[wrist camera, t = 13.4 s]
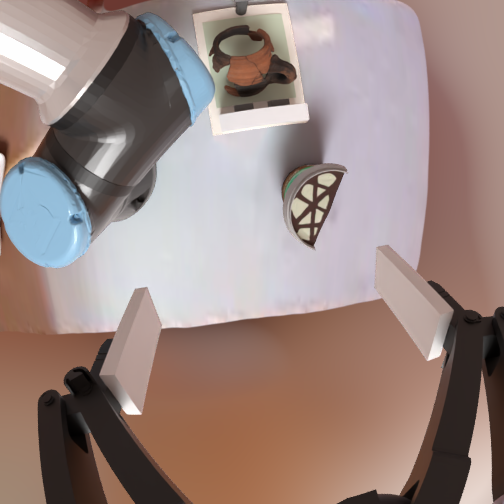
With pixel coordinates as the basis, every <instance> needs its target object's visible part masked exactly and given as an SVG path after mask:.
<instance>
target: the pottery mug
mask: <svg viewBox="0 0 504 504" xmlns="http://www.w3.org/2000/svg"><path fill="white" fill-rule="evenodd" d="M249 28H250V27H249V26H248V25H239V26H233V27H230V28H228V29H225V30H224V31H222V32H220V33H219V34H218V35H217V36H216V37H215V39H214V41H213V46H212V48H211V50H210V53H209V56H212V55H213V54H214V55H213V57H212V63H213V66H212V68H213V69H214V71H215V72H216V73H219V71H220V69H221V68H223V67H225V66H228V65H230V67H229V71H228V74H227V78H228V80H229V81H230V82H232V83H234V86H235V88H233V87H230V86H227V85H225V87H224V88H225V90H226V91H227V93H228V94H230V95H233V96H237V97H250V96H254V95H256V94H259V93H260V92H261V91H263V90H264V89H265V88H266V87H267V86H268V85H269V84H272V83H278V84H290V83H291V82H293V81H294V80H296V78H297V74H296V69H295V67H294V66H293V65H292V64H291V63H289V62H287V61H284V60H282V59H280V58H279V57H278V55H276V54H274V55H272V53H271V52H274V47H273V45H272V43H271V40H270V36H269V35H268V34H267V33H266V32H265V31H264V30H262V29H260V28H259V29H258V30H257V32H256V31H251V30H249ZM234 35H248V36H249V37H250V38H251V40H253V41H262V39H263V40H264V46H263V47H262V48H261V49H260V50H259V51H257V52H255V53H253V54H250V55H247V56H230V55H228V54H225V53H224V52H222V51H221V50H220V48H219V45H220V43H221V41H222V40H224V39H226V38H229V37H231V36H234ZM266 73H267V74H266ZM262 74H266V76H265V78H264V77H263V75H262Z"/></svg>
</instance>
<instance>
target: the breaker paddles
mask: <svg viewBox="0 0 504 504" xmlns="http://www.w3.org/2000/svg"><path fill="white" fill-rule="evenodd" d="M267 103H268V107H275V106H284V105H289V104H290V102H289V98H288V99H279V100H270V101H268V102H267ZM233 107H234V112H239V111H245V110H252V109H254V106H253V103H247V104H241V105H234V106H233Z"/></svg>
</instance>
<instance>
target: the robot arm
mask: <svg viewBox="0 0 504 504" xmlns="http://www.w3.org/2000/svg"><path fill="white" fill-rule="evenodd" d="M0 83H1V84H3V85H6V86H8V87H10V88H12V89H14V90H17V91H19V92H21V93H23V94H25V95H27V96H30V97H32V98H34V99H35V100H36V102H37V105H38V109H39V113H40V117H41V121H42V122H43V123H44V124H46V125H48V126H51V127H50V129H49V130H48V132H47V134H46V135H45V137H44V139H43V140H42V142H41V144H40V145H39V147H38V149H37V151H36V152H35V154H34V155H33V156H32V157H28V158H25V159H23V160H20V161H19V162H18V164H16V165H15V166H14V167H12V168H11V169H10V171H9V172H8V173H7V175H6V176H5V178H4V181H3V183H2V187H1V191H0V212H1V217H2V219H3V221H4V224H5V229H6V232H7V234H8V236H9V238H10V239H11V241H12V242H13V244H14V245H15V246H16V248H17V249H18V250H19V251H20V252H21V253H22V254H23V255H24V256H25V257H26V258H28V259H29V260H31V261H32V262H34V263H36V264H38V265H40V266H44V267H53V268H61V267H64V266H67V265H69V264H71V263H72V262H73V261H75V260H76V259H77V258H79V257H81V256H82V255H84V254H85V252H86V251H87V250H88V248H89V246H90V244H91V243H92V242H93V241H94V240H95V239H96V238H97V237H98V236H99V234H100V233H101V232H102V231H103V230H104V229H105V228H106V227H107V226H108V225H109V224H110V223H111V222H117V221H122V220H124V219H127V218H129V217H131V216H132V215H134V214H135V213H137V212H138V211H139V210H140V209H141V208H142V207H143V206H144V204H145V203H146V202H147V201H148V199H149V198H150V196H151V194H152V192H153V189H154V186H155V182H156V162H157V161H158V160H159V159H160V158H161V156H162V155H163V154H164V153H165V152H166V151H167V150H168V149H169V148H170V146H171V145H172V144H173V143H174V142H175V141H176V140H177V139H178V138H179V137H180V136H181V135H182V134H183V133H184V131H185V130H186V129H187V128H188V127H190V126H192V125H193V124H194V122H195V121H196V118H197V117H198V116H199V115H200V113H201V112H202V111H203V110H204V109H205V108H206V107H207V106H208V105H209V104H210V103H211V101H212V99H213V97H214V93H215V83H214V80H213V78H212V76H211V74H210V72H209V71H208V69H207V67H206V66H205V64H204V63H203V61H202V60H201V59H200V57H199V56H198V55H197V54H196V52H195V51H194V50H193V49H192V47H191V46H190V45H189V44H188V43H187V42H186V41H185V40H184V39H183V38H181V37H179V35H178V34H177V32H176V31H175V30H174V29H173V28H172V27H171V26H170V25H169V24H168V23H167V22H166V21H164V20H163V19H162V18H160V17H159V16H157V15H155V14H153V13H150V12H147V13H145V14H143V15H140V16H138V17H137V18H136V19H134V18H133V17H132V16H131V15H129V14H128V13H127V12H125V11H114V12H108V13H102V14H98V13H96V12H94V11H93V10H91V9H90V8H88V7H87V6H86V5H84V4H82V3H81V2H80V1H78V0H0ZM374 288H375V289H376V290H377V292H378V293H379V294H380V296H381V297H382V298H383V300H384V301H385V302H386V304H387V305H388V306H389V308H390V309H391V310H392V312H393V313H394V314H395V316H396V317H397V319H398V320H399V321H400V323H401V324H402V325H403V327H404V328H405V330H406V331H407V333H408V334H409V335H410V337H411V338H412V340H413V341H414V342H415V344H416V345H417V347H418V348H419V350H420V351H421V353H422V354H423V356H424V357H425V359H426V360H427V361H429V360H431V359H433V358H436V357H438V356H440V354H441V351H442V348H443V347H444V349H445V350H446V351H447V353H446V356H445V359H444V361H443V364H442V367H441V368H443V371H442V375H441V380H440V384H439V388H438V392H437V396H436V400H435V404H434V408H433V411H432V415H431V418H430V422H429V425H428V428H427V431H426V434H425V437H424V440H423V443H422V446H421V449H420V452H419V454H418V457H417V460H416V462H415V465H414V468H413V470H412V472H411V475H410V477H409V479H408V481H407V483H406V484H405V486H404V488H403V489H402V491H401V493H400V495H399V496H398V495H392V494H377V491H376V490H373V491H370V492H367V493H364V494H361V495H357V496H354V497H350V498H347V499H345V500H343V501H341V502H339V503H337V504H459V502H460V499H461V496H462V493H463V490H464V487H465V484H466V480H467V477H468V473H469V470H470V465H471V458H469V457H468V453H469V448H470V444H471V440H472V434H473V430H474V425H475V419H476V413H477V406H478V399H479V392H480V382H481V371H482V372H483V377H484V383H485V389H486V396H487V403H488V411H489V421H490V433H491V450H492V494H493V502H494V503H493V504H504V307H498V308H497V309H496V310H495V313H494V316H491V317H482V316H481V315H480V314H479V313H477V312H476V311H473V310H464V309H463V308H462V307H461V306H460V305H459V304H458V303H457V302H456V301H455V300H454V299H453V298H452V297H451V296H450V295H449V294H448V293H447V292H445V290H444V289H443V288H442V287H441V286H440V285H439V284H437V283H435V282H433V281H428V282H426V281H425V280H424V279H423V278H422V277H421V276H420V275H419V274H418V273H417V272H416V271H415V270H414V269H413V268H412V267H411V266H410V265H409V264H408V263H407V262H406V261H405V260H404V259H402V258H401V257H400V256H399V255H398V254H397V253H396V252H395V251H394V250H393V249H392V248H391V247H390V246H389V245H385V246H379V247H376V270H375V286H374ZM161 327H162V324H161V322H160V319H159V317H158V314H157V312H156V309H155V306H154V304H153V301H152V299H151V296H150V293H149V291H148V288H147V287H145V288H138V289H135V290H134V293H133V295H132V297H131V299H130V301H129V304H128V306H127V308H126V310H125V313H124V315H123V317H122V320H121V322H120V324H119V327H118V329H117V331H116V334H115V336H114V339H107V340H106V341H105V342H104V343H103V344H102V345H101V347H100V349H99V352H98V355H97V357H96V361H94V364H93V366H92V369H91V371H90V372H89V371H88V369H86V368H85V367H82V366H81V367H76V368H73V369H72V370H70V371H69V372H68V373H67V374H66V375H65V378H64V385H65V386H66V388H67V389H68V390H69V391H70V393H71V394H67V395H64V396H61V395H60V394H59V393H58V392H57V391H56V390H48V391H46V392H44V393H43V394H42V395H41V397H40V398H39V400H38V434H39V450H40V461H41V470H42V477H43V485H44V491H45V497H46V503H47V504H108V503H107V500H106V497H105V494H104V491H103V487H102V484H101V481H100V477H99V473H98V470H97V466H96V462H95V458H94V454H93V450H92V445H91V441H90V436H89V433H91V434H92V435H93V437H94V439H95V441H96V443H97V445H98V446H99V448H100V450H101V452H102V453H103V455H104V457H105V458H106V460H107V462H108V463H109V465H110V467H111V468H112V470H113V472H114V473H115V475H116V476H117V477H118V479H119V481H120V482H121V484H122V485H123V487H124V488H125V490H126V491H127V492H128V494H129V495H130V497H131V498H132V500H133V501H134V502H135V504H193V503H192V502H191V501H190V500H189V499H188V498H187V497H186V496H185V495H184V494H183V493H182V492H181V490H180V489H179V488H178V487H177V486H176V485H175V484H174V483H173V482H172V481H171V479H170V478H169V477H168V476H167V475H166V474H165V472H164V471H163V470H162V469H161V468H160V467H159V465H158V464H157V463H156V462H155V460H154V459H153V458H152V457H151V456H150V454H149V453H148V452H147V450H146V449H145V448H144V447H143V445H142V444H141V443H140V441H139V440H138V439H137V437H136V436H135V434H134V433H133V432H132V430H131V429H130V427H129V426H128V425H127V423H126V422H125V420H124V419H123V417H122V416H121V415H120V411H121V407H122V408H123V410H124V411H125V412H126V414H142V410H143V405H144V400H145V395H146V390H147V386H148V381H149V377H150V372H151V368H152V364H153V359H154V355H155V350H156V346H157V343H158V339H159V335H160V331H161Z"/></svg>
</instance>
